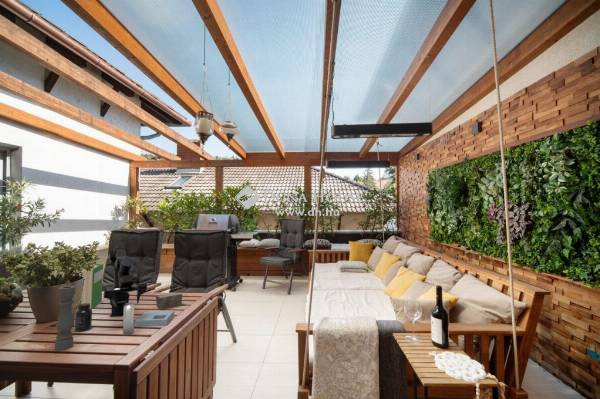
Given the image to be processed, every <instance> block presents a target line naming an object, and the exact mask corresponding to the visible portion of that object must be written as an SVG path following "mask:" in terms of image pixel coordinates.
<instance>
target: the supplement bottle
mask: <svg viewBox="0 0 600 399" xmlns="http://www.w3.org/2000/svg"><path fill="white" fill-rule="evenodd" d="M92 322H93V309H91V308H90V303H84V304H79V305H77V310H75V313H74V326H73V327H74V331H75V332H76V333H77V332H85V331H89V330H91V329H92Z"/></svg>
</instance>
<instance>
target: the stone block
mask: <svg viewBox="0 0 600 399" xmlns="http://www.w3.org/2000/svg"><path fill="white" fill-rule="evenodd" d="M155 302H156V308H158V310H159V311H163V310H165V309H171V308H175V307H176V308H177V307H181V306H182V304H183V303H182V302H183V293H182V292H175V293H167V294H159V295H156V296H155Z"/></svg>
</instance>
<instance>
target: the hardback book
mask: <svg viewBox="0 0 600 399" xmlns="http://www.w3.org/2000/svg"><path fill="white" fill-rule="evenodd" d="M80 275H81V276H83V277H85V281H84V287H83V292H82V296H81V300H80V303H79V304H84V303H90V308H89V309H91V310H94V309H95V308H96V307H97V306H98V305H99V304H101V303H102V301H103V299H102V297H103V281H104V280H103V276H104V264H103V263H100V264H99V263H97V264H96V263H95V266H94V268H93V269H92V270H91V271H90V272H85V271H84V272H82V273H81V274H80V273H79V276H80Z"/></svg>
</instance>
